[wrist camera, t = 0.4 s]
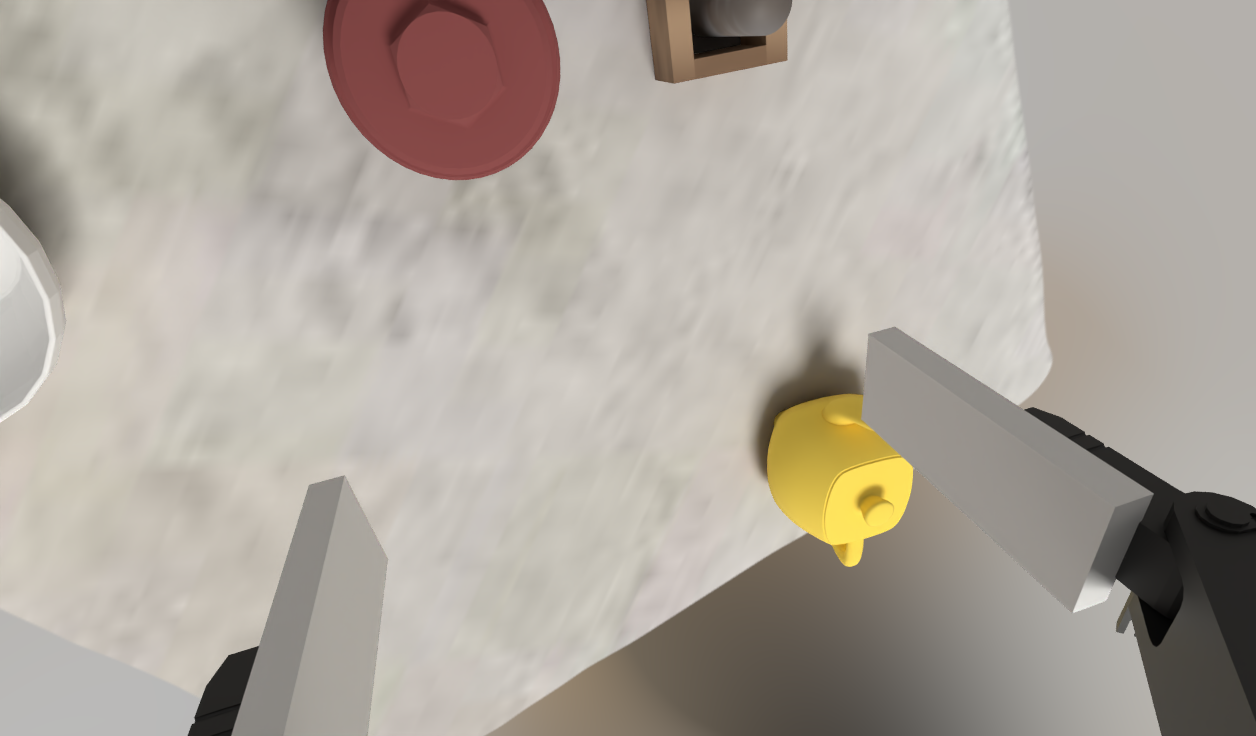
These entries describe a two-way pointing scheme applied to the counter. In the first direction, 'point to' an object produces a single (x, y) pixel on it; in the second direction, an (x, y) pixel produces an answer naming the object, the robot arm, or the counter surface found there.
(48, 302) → the bowl
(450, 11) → the mechanical component
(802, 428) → the teapot
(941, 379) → the robot arm
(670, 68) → the frame
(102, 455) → the counter surface
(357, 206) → the counter surface
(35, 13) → the counter surface
